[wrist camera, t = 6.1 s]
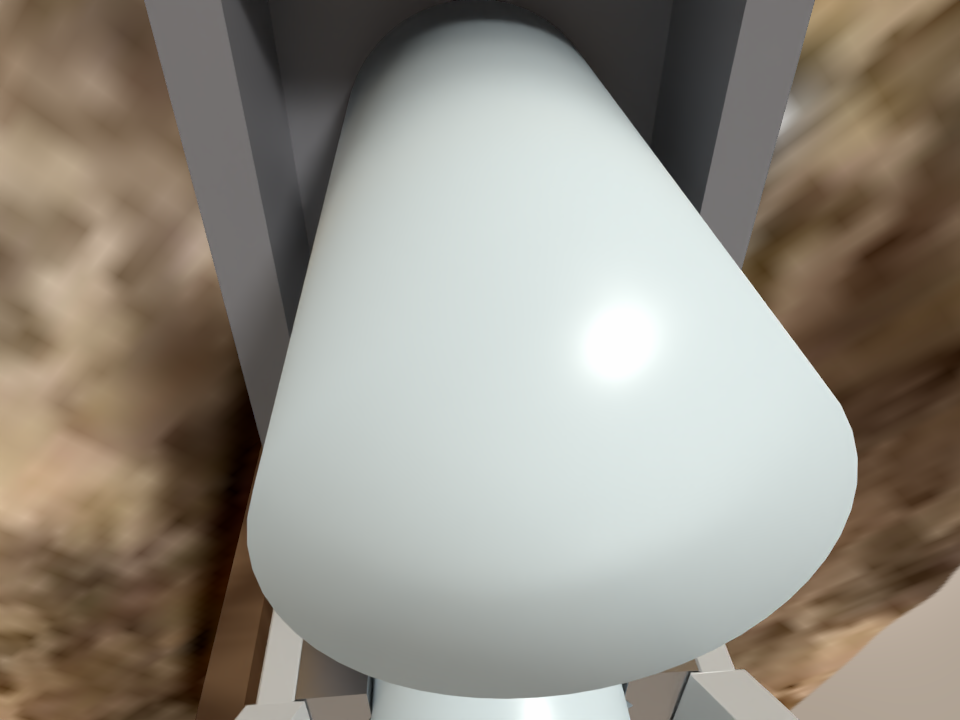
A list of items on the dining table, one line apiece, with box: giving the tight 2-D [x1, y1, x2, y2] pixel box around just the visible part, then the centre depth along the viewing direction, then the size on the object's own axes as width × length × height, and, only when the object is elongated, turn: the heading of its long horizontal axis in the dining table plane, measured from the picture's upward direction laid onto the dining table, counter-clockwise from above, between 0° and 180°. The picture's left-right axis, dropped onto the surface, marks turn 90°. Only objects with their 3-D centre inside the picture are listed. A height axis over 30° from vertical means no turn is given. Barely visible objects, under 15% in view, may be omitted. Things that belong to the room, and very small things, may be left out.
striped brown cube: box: [195, 445, 273, 720], centre depth 33 cm, size 19×19×18 cm
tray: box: [144, 0, 858, 720], centre depth 11 cm, size 6×20×8 cm, turn 0°
